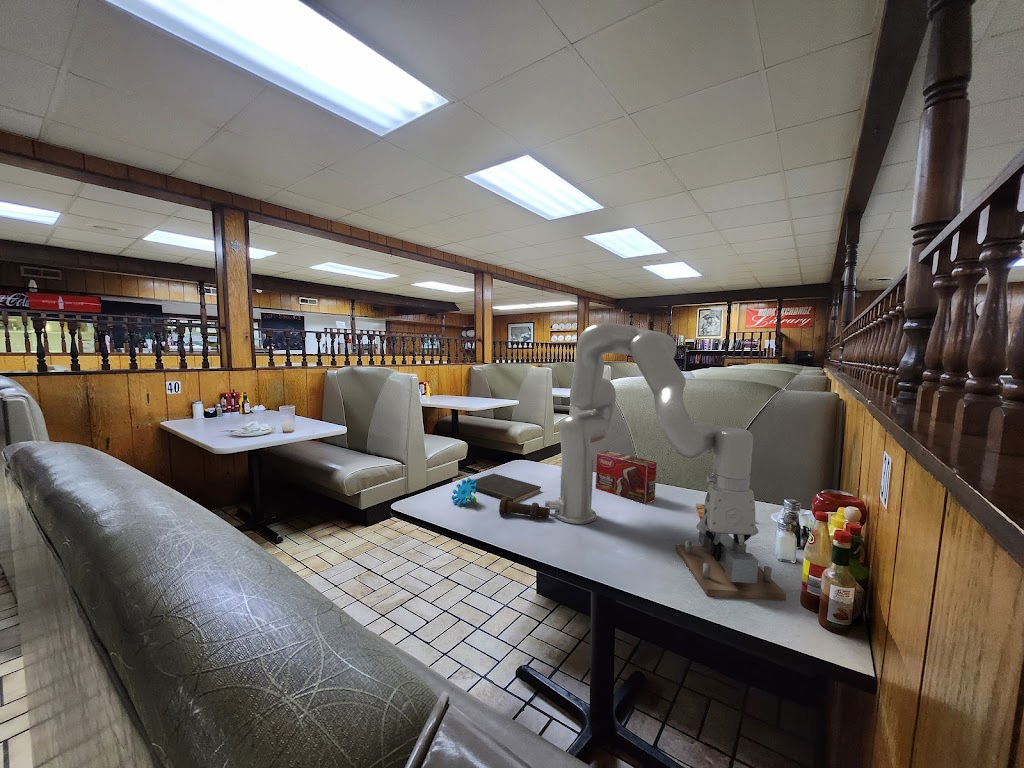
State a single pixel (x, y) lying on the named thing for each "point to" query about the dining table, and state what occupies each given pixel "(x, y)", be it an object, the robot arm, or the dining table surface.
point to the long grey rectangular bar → (733, 559)
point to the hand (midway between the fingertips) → (724, 558)
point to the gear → (465, 492)
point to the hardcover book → (505, 487)
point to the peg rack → (718, 583)
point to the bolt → (523, 509)
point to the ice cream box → (626, 476)
